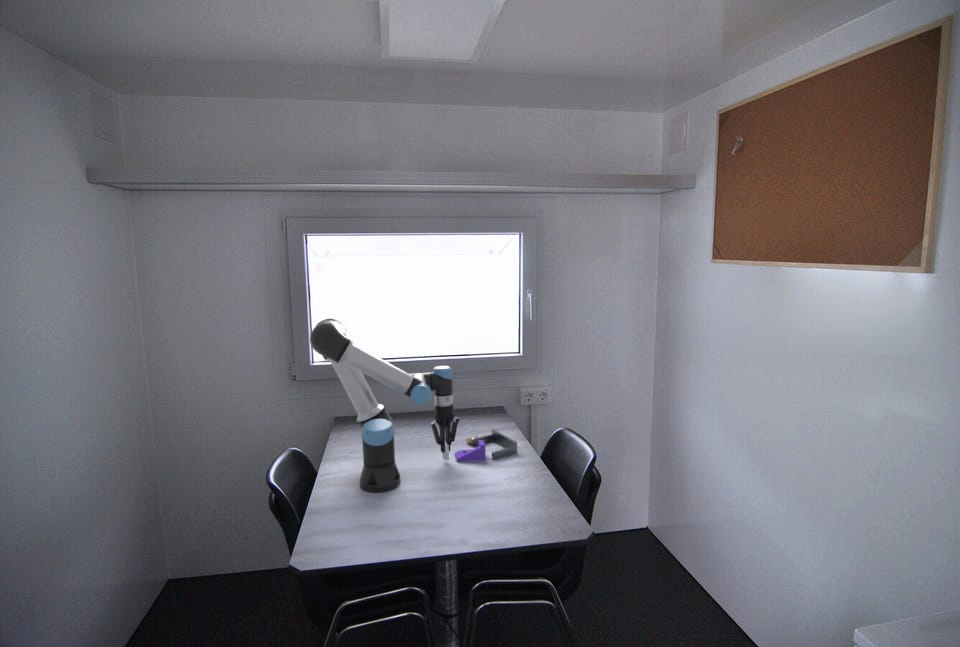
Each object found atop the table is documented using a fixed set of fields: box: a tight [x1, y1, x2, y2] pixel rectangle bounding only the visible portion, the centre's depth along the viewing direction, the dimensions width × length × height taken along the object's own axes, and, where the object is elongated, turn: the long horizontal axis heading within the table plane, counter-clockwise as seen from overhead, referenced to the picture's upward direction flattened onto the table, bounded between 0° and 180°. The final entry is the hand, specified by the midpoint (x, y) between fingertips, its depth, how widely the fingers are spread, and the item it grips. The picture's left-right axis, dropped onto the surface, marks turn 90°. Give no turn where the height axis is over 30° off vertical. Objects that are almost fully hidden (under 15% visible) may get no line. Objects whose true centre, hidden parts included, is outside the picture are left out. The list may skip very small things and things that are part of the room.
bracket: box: [454, 440, 486, 463], centre depth 215 cm, size 12×7×7 cm, turn 98°
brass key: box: [465, 435, 479, 445], centre depth 232 cm, size 6×3×3 cm, turn 142°
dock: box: [470, 429, 518, 461], centre depth 223 cm, size 12×18×5 cm
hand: (445, 459), depth 211 cm, fingers closed
